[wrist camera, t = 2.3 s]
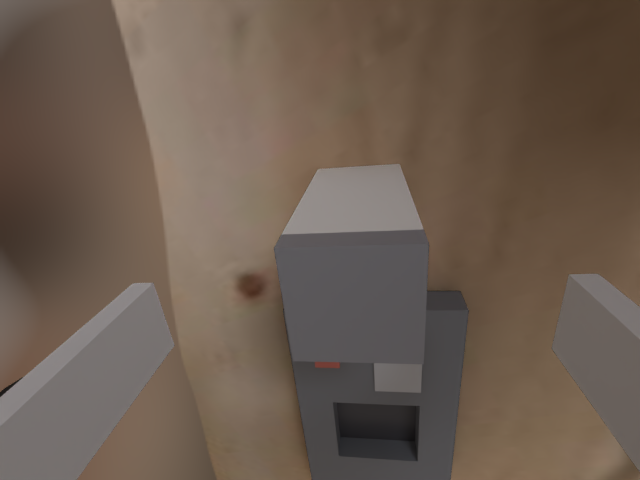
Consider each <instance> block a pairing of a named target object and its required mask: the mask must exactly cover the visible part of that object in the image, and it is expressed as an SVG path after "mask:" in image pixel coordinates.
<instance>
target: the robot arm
mask: <svg viewBox="0 0 640 480" xmlns="http://www.w3.org/2000/svg"><path fill="white" fill-rule="evenodd" d="M173 347H174V342H173V339H172V336H171V334H170V331H169V328H168V325H167V322H166V319H165V316H164V313H163V310H162V307H161V304H160V301H159V298H158V295H157V292H156V289H155V286H154V283H133V284H132V285H130V286H129V287H128V288H127V289H126V290H125V291H123V292H122V293H121V294H120V295H119V296H118V297H117V298H115V299H114V300H113V301H112V302H111V303H109V304H108V305H107V306H106V307H105V308H104V309H102V310H101V311H100V312H99V313H98V314H97V315H96V316H94V317H93V318H92V319H91V320H90V321H89V322H87V323H86V324H85V325H84V326H83V327H82V328H80V329H79V330H78V331H77V332H76V333H75V334H73V335H72V336H71V337H70V338H69V339H68V340H66V341H65V342H64V343H63V344H62V345H61V346H59V347H58V348H57V349H56V350H55V351H54V352H52V353H51V354H50V355H49V356H48V357H47V358H45V359H44V360H43V361H42V362H41V363H40V364H38V365H37V366H36V367H35V368H34V369H33V370H31V371H30V372H29V373H28V374H27V375H26V376H24V377H22V378H21V379H19V380H18V381H16V382H14V383H13V384H11V385H9V386H8V387H6V388H5V389H4V390H2V391H1V392H0V480H77V479H78V477H79V476H80V474H81V473H82V472H83V470H84V469H85V468H86V466H87V465H88V463H89V462H90V461H91V459H92V458H93V457H94V455H95V454H96V452H97V451H98V450H99V448H100V447H101V446H102V444H103V443H104V441H105V440H106V439H107V437H108V436H109V435H110V433H111V432H112V431H113V429H114V428H115V426H116V425H117V424H118V422H119V421H120V420H121V418H122V416H123V415H124V414H125V413H126V411H127V410H128V409H129V407H130V406H131V404H132V403H133V402H134V400H135V399H136V398H137V396H138V395H139V393H140V392H141V391H142V389H143V388H144V387H145V385H146V384H147V382H148V381H149V380H150V378H151V377H152V376H153V374H154V372H155V371H156V370H157V369H158V367H159V366H160V364H161V363H162V362H163V361H164V359H165V357H166V356H167V355H168V354H169V352H170V351H171V350H172V348H173ZM552 350H553V351H554V353H555V354H556V356H557V357H558V358H559V360H560V361H561V363H562V364H563V365H564V367H565V368H566V370H567V371H568V372H569V374H570V375H571V377H572V378H573V379H574V381H575V382H576V384H577V385H578V386H579V388H580V389H581V391H582V392H583V393H584V395H585V396H586V398H587V399H588V400H589V402H590V403H591V405H592V406H593V407H594V409H595V410H596V412H597V413H598V414H599V416H600V417H601V419H602V420H603V421H604V423H605V424H606V426H607V427H608V428H609V430H610V431H611V433H612V434H613V435H614V437H615V438H616V440H617V441H618V442H619V444H620V445H621V447H622V448H623V449H624V451H625V452H626V454H627V455H628V456H629V458H630V459H631V461H632V462H633V463H634V465H635V466H636V468H637V469H638V470H639V472H640V307H639V306H638V305H637V304H635V303H634V302H633V301H632V300H630V299H629V298H628V297H627V296H625V295H624V294H623V293H622V292H620V291H619V290H618V289H617V288H615V287H614V286H613V285H612V284H610V283H609V282H608V281H607V280H605V279H604V278H603V277H602V276H600V275H599V274H569V276H568V280H567V285H566V289H565V293H564V297H563V302H562V306H561V310H560V315H559V319H558V323H557V327H556V332H555V336H554V340H553V344H552Z"/></svg>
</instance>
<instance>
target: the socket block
mask: <svg viewBox="0 0 640 480" xmlns="http://www.w3.org/2000/svg"><path fill="white" fill-rule="evenodd" d="M283 313H284V319H285V325H286V331H287V337H288V343H289V348H290V354H291V360H292V366H293V372H294V378H295V384H296V389H297V395H298V401H299V407H300V413H301V419H302V425H303V430H304V436H305V442H306V448H307V454H308V460H309V466H310V471H311V477H312V480H451V470H452V461H453V452H454V443H455V433H456V424H457V415H458V406H459V396H460V387H461V378H462V368H463V359H464V350H465V341H466V331H467V322H468V313H469V310H468V308H467V305H466V303H465V301H464V298H463V296H462V294H461V292H460V291H427V302H426V324H425V347H424V364H389V363H348V362H307V361H293V358H292V352H291V347H290V341H289V335H288V329H287V323H286V317H285V311H284V309H283Z"/></svg>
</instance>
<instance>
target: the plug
mask: <svg viewBox="0 0 640 480" xmlns="http://www.w3.org/2000/svg"><path fill="white" fill-rule="evenodd" d="M274 252H275V258H276V264H277V270H278V276H279V282H280V287H281V293H282V299H283V305H284V311H285V317H286V323H287V329H288V335H289V341H290V347H291V352H292V358H293V361H307V362H348V363H389V364H424V347H425V324H426V302H427V279H428V256H429V242H428V240H427V237H426V234H425V231H424V229H423V226H422V223H421V221H420V218H419V215H418V212H417V210H416V207H415V204H414V202H413V199H412V196H411V194H410V191H409V188H408V185H407V183H406V180H405V177H404V175H403V172H402V169H401V166H400V164H387V165H371V166H356V167H341V168H325V169H318V170H317V172H316V173H315V175H314V177H313V179H312V181H311V182H310V184H309V186H308V188H307V190H306V191H305V193H304V195H303V197H302V199H301V200H300V202H299V204H298V206H297V208H296V209H295V211H294V213H293V215H292V216H291V218H290V220H289V222H288V224H287V225H286V227H285V229H284V231H283V233H282V234H281V236H280V238H279V240H278V242H277V243H276V245H275V247H274Z"/></svg>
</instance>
